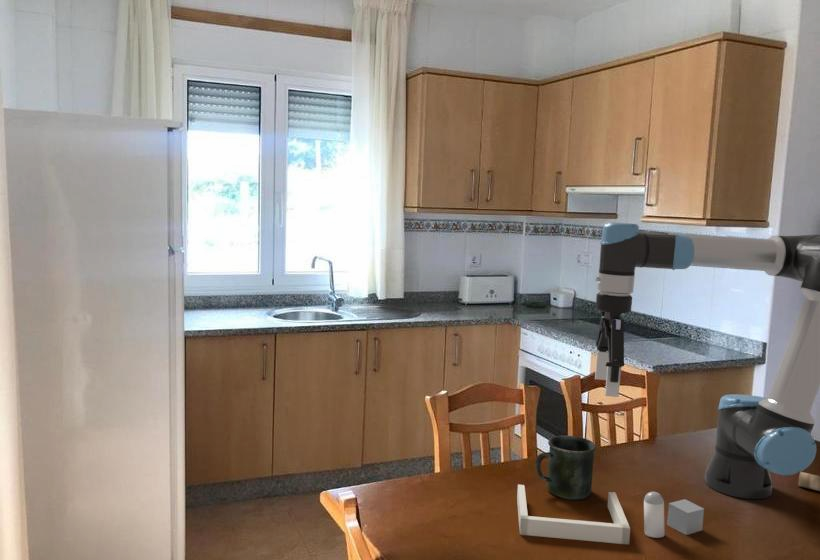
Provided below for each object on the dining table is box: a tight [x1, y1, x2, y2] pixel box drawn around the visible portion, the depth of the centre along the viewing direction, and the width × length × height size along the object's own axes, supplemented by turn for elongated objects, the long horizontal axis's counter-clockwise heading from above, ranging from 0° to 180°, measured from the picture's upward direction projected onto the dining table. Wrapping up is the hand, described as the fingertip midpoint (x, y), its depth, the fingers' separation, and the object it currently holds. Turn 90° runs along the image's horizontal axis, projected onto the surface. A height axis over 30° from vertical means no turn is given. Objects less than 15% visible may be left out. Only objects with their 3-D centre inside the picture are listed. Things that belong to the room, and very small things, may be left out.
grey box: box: [666, 499, 705, 536], centre depth 147 cm, size 5×5×5 cm
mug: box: [534, 435, 597, 500], centre depth 162 cm, size 11×15×12 cm
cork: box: [797, 471, 820, 492], centre depth 170 cm, size 4×4×5 cm
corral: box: [516, 484, 631, 545], centre depth 148 cm, size 22×17×4 cm
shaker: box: [643, 491, 665, 539], centre depth 143 cm, size 4×4×9 cm
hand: (606, 387), depth 152 cm, fingers open, 13 cm apart
